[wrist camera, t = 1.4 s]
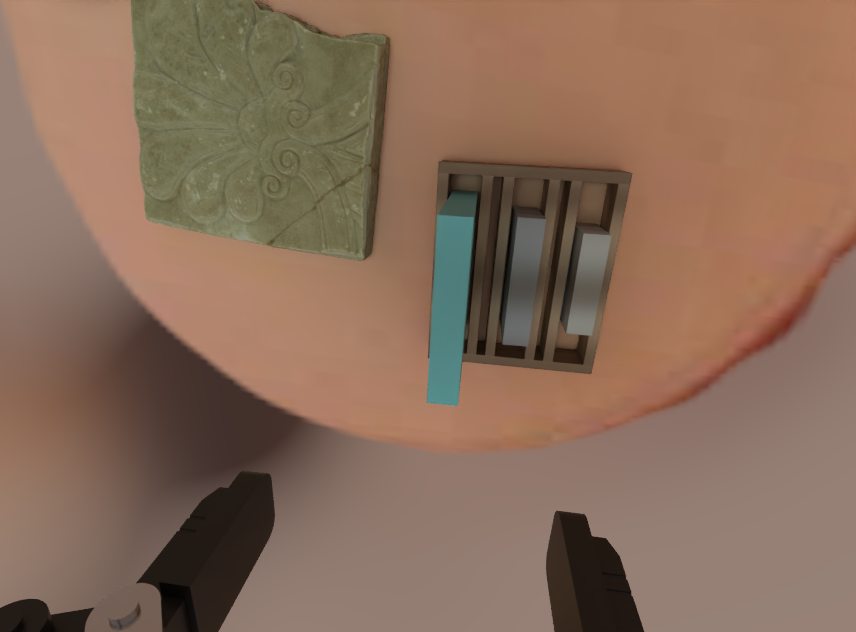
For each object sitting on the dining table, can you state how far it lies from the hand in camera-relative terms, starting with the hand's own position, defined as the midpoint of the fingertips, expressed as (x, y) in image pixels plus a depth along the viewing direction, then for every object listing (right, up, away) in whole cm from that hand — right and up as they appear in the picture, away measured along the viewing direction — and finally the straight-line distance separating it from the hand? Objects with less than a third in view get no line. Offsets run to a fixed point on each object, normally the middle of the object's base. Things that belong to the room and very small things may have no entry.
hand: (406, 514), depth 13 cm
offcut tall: (+8, +10, +27) cm, 30 cm away
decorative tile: (-13, +22, +26) cm, 36 cm away
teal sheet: (+3, +10, +27) cm, 29 cm away
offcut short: (+13, +10, +26) cm, 31 cm away
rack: (+8, +10, +27) cm, 30 cm away
